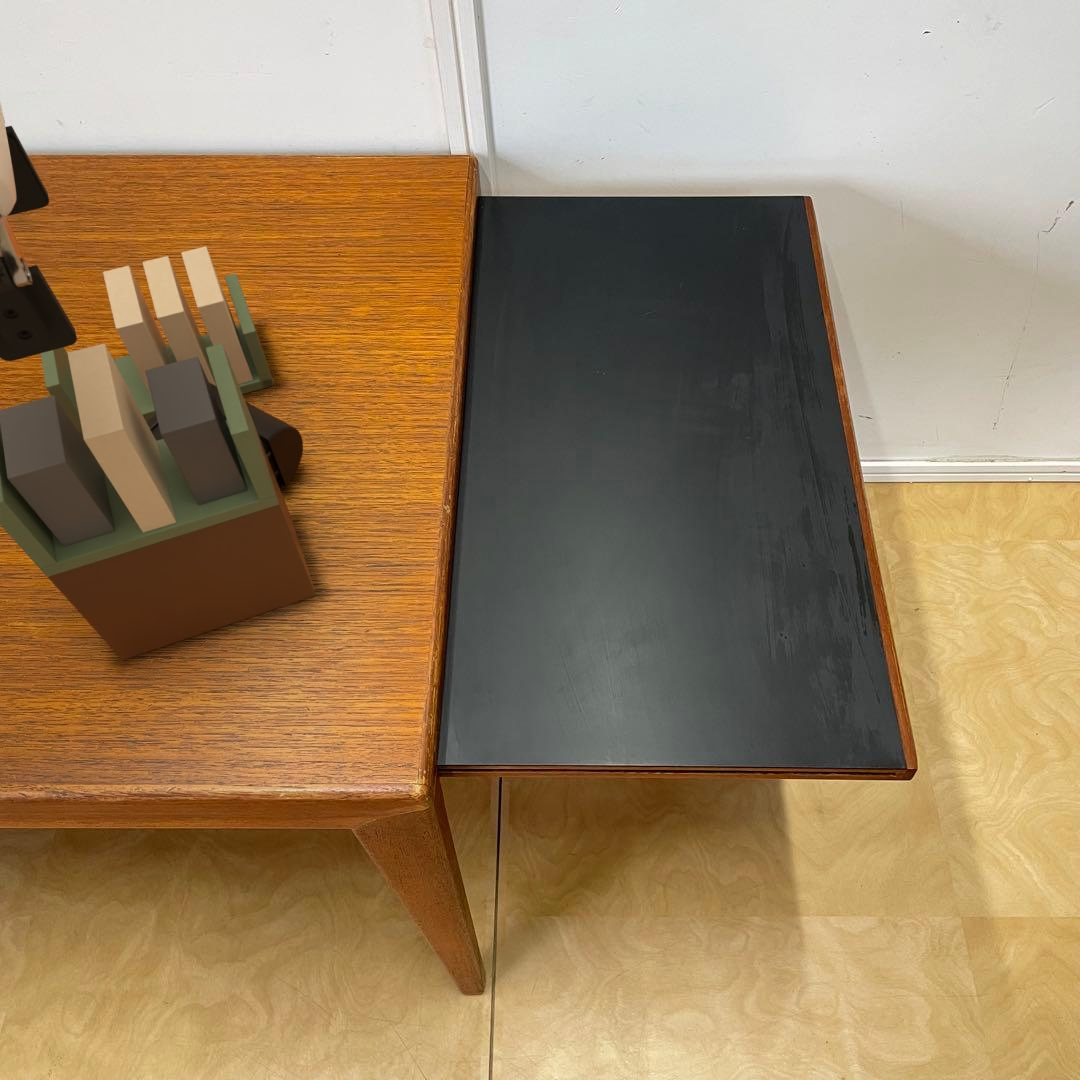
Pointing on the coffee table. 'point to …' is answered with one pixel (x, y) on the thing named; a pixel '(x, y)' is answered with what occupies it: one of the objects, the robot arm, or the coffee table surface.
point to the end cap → (265, 440)
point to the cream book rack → (169, 331)
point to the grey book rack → (164, 553)
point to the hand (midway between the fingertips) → (28, 275)
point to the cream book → (120, 437)
